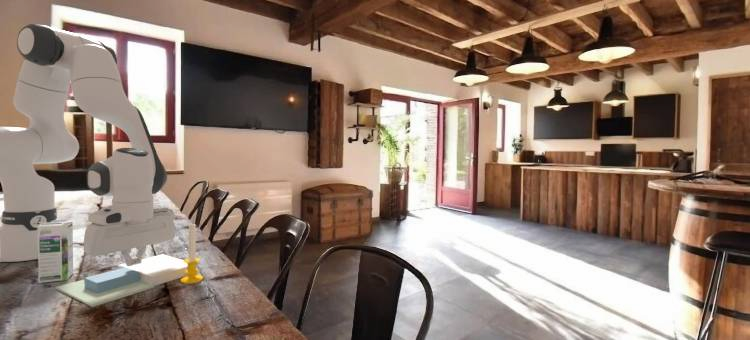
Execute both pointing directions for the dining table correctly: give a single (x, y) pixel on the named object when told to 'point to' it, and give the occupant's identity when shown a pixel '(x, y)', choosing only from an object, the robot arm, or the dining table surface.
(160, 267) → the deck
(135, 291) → the mat
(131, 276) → the tile
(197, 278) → the candle
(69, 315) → the dining table surface
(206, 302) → the dining table surface
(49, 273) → the syrup box
